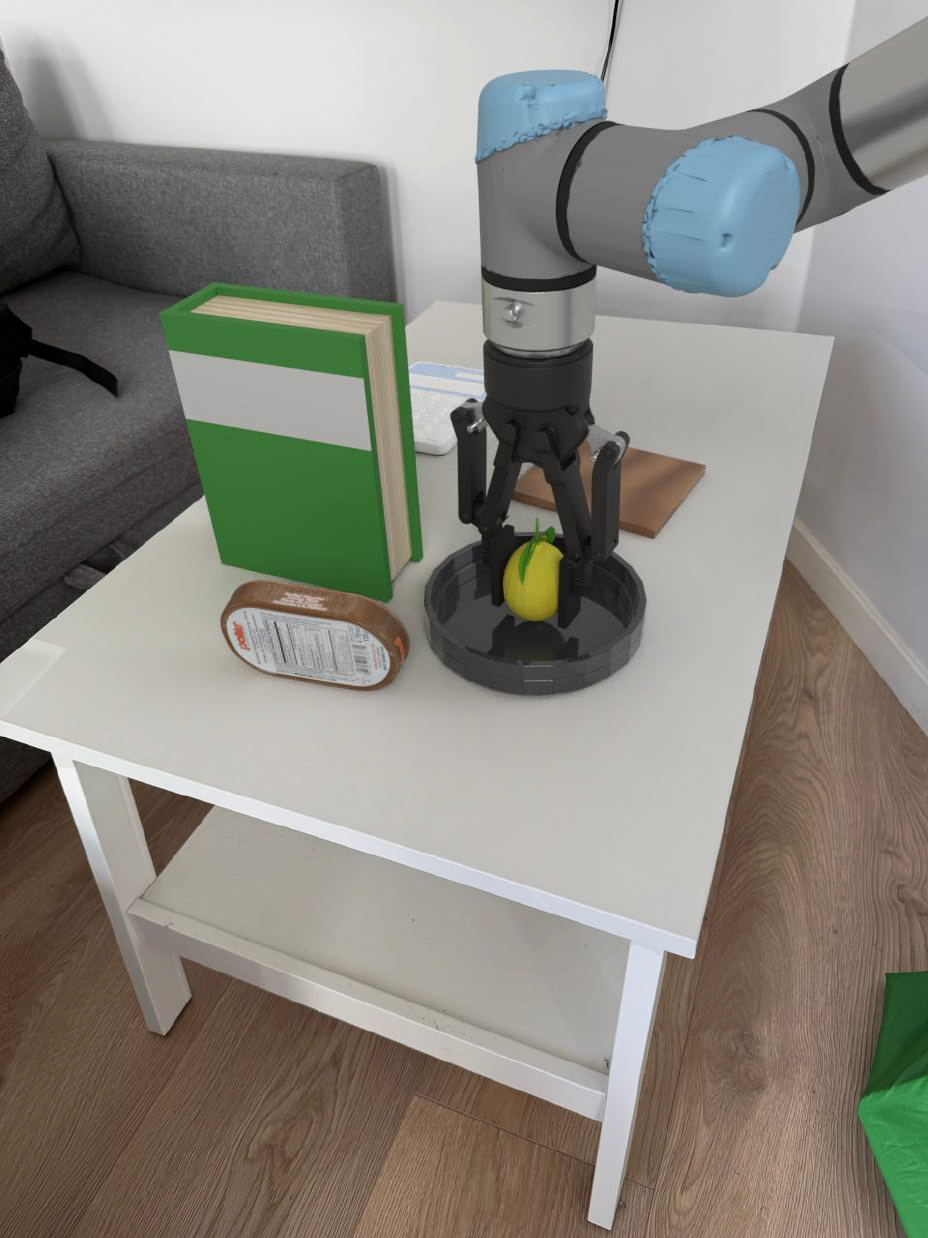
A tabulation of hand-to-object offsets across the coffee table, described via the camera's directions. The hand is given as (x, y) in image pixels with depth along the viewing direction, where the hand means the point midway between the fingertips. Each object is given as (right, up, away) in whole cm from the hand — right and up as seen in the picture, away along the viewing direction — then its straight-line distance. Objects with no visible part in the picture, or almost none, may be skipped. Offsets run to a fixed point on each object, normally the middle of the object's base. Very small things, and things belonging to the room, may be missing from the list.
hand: (535, 607), depth 76 cm
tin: (-18, -6, -3) cm, 19 cm away
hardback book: (-19, +4, +10) cm, 22 cm away
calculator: (-10, +24, +34) cm, 43 cm away
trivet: (+9, +13, +19) cm, 25 cm away
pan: (0, -1, +1) cm, 2 cm away
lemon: (0, -1, +1) cm, 2 cm away
